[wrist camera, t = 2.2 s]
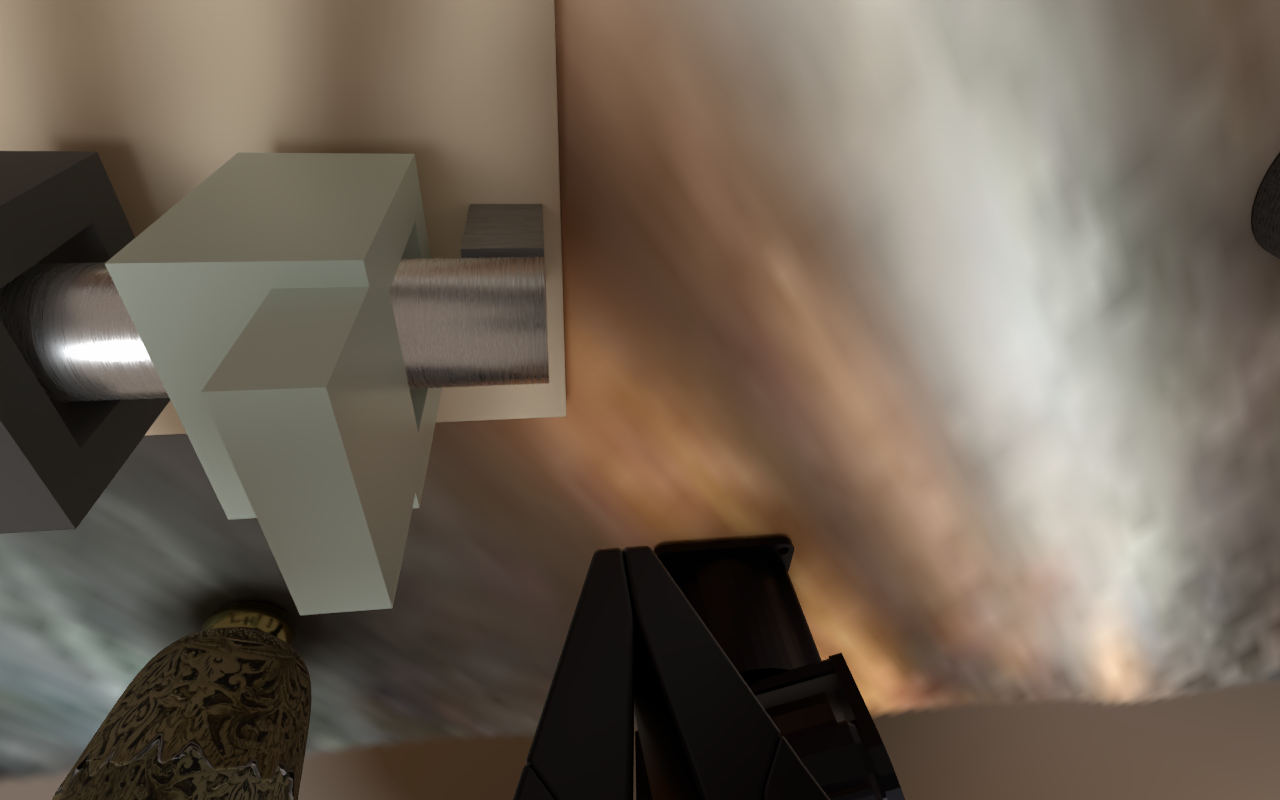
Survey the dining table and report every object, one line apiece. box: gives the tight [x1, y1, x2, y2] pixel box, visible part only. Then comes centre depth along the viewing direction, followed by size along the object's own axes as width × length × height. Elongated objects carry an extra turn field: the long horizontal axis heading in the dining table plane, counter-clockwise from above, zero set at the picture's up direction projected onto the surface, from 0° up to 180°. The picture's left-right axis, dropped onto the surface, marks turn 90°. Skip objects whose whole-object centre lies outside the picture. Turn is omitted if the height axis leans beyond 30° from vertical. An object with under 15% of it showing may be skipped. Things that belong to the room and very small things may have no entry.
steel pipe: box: [0, 204, 549, 402], centre depth 15 cm, size 22×3×6 cm, turn 87°
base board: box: [0, 0, 566, 435], centre depth 18 cm, size 23×13×1 cm, turn 87°
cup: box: [52, 601, 311, 800], centre depth 26 cm, size 8×7×8 cm
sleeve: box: [105, 153, 442, 615], centre depth 14 cm, size 4×6×9 cm, turn 177°
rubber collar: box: [0, 151, 170, 534], centre depth 14 cm, size 2×6×6 cm, turn 178°
